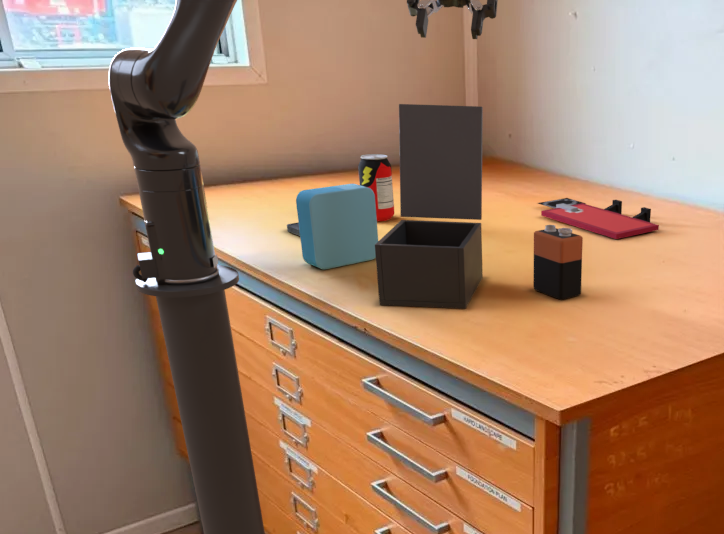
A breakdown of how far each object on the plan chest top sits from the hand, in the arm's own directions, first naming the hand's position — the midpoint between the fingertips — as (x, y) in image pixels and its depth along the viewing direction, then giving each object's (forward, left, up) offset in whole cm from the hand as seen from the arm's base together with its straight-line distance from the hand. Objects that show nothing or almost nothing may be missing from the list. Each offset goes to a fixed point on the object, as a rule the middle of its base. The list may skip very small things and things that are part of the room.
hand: (448, 34), depth 135 cm
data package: (-19, +2, -35) cm, 40 cm away
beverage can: (-5, +31, -35) cm, 47 cm away
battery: (+7, -27, -35) cm, 44 cm away
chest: (-10, -19, -35) cm, 41 cm away
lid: (-6, -11, -17) cm, 21 cm away
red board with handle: (+35, +15, -35) cm, 52 cm away
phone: (-18, +21, -35) cm, 45 cm away
